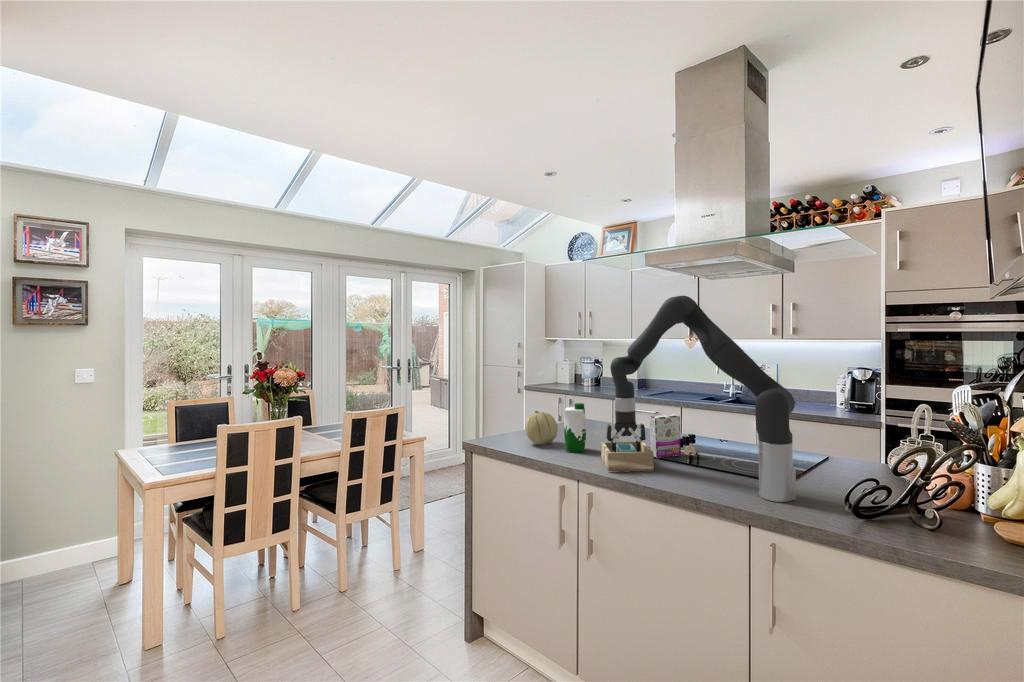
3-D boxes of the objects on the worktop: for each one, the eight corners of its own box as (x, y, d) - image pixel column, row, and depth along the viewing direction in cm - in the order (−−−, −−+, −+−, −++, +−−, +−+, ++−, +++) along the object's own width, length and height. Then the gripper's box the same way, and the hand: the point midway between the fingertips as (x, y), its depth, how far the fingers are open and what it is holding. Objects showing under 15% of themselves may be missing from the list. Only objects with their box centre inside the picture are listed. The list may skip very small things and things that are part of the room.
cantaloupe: (551, 449, 223) (550, 415, 223) (520, 447, 230) (519, 413, 229) (562, 441, 237) (562, 409, 236) (533, 439, 243) (532, 408, 242)
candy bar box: (674, 453, 212) (673, 413, 211) (681, 456, 207) (680, 415, 206) (649, 455, 209) (649, 415, 208) (656, 458, 204) (655, 417, 203)
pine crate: (601, 459, 205) (600, 442, 205) (642, 458, 205) (642, 441, 204) (608, 472, 188) (607, 453, 187) (653, 471, 187) (653, 452, 187)
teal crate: (615, 459, 201) (615, 443, 201) (631, 458, 201) (630, 443, 201) (620, 466, 191) (620, 450, 191) (636, 466, 191) (636, 450, 191)
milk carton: (585, 453, 215) (584, 405, 215) (563, 452, 217) (562, 405, 217) (586, 448, 224) (585, 402, 223) (566, 447, 226) (564, 402, 225)
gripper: (607, 411, 192) (609, 454, 192) (646, 410, 191) (647, 453, 192) (604, 408, 199) (606, 449, 200) (641, 407, 199) (643, 448, 199)
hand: (626, 451), depth 196 cm, fingers open, 8 cm apart
